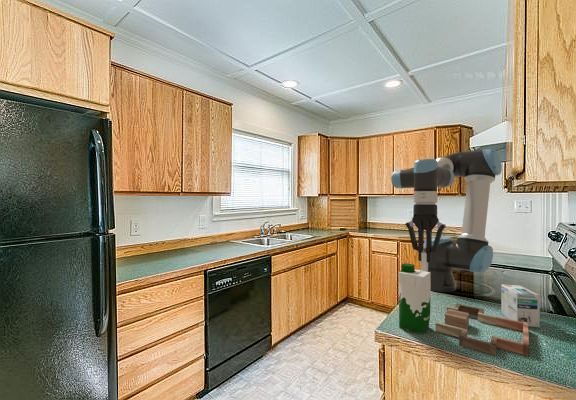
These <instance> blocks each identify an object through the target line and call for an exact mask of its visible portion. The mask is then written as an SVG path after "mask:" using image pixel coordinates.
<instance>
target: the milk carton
mask: <svg viewBox="0 0 576 400" xmlns="http://www.w3.org/2000/svg"><path fill="white" fill-rule="evenodd" d="M400 265H401V266H400V267H401V268H400V269H401V270H399V272H398V274H397V275H398V276H397V277H398V327H399V329H403V330H406V331H409V332H414V333H416V334H417V333H418V334H420V335H423V334H425V332H426V330H427V329H428V328H429V327H430V319H431V295H432V294H431V291H432V290H431V282H430V273H431V272H426V271H422V270H421V269H415V264H412V263H401V264H400Z"/></svg>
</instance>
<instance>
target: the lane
mask: <svg viewBox="0 0 576 400" xmlns="http://www.w3.org/2000/svg"><path fill="white" fill-rule="evenodd" d="M454 307H455V306H454ZM454 307H453V306H449V305H447V306H446V312H447V310H448V309H452V310H456V311H458V308H454ZM446 312H445V313H446ZM477 322H480V323H485V324H489V325H493V326H498V327H503V328H507V329H512V330H514V331H519V332H522V342H520V341H514V340H511V339H507V338H504V337H503V338H502V337H499V336H496V335H495V336H494V335H491V338H496V339H497V349H501V350H505V351H509V352H512V353H516V354H520V355H525V356H527V357H528V356H529V357H530V341H529V340H530V338H529V326H528V323H524V322H520V321H515V320H510V319H508V318H507V317H500V316H497V315H491V314H490V315H489V314H486V313H484V314H482V313H478V320H477ZM434 330H435V332H436V333H441V334H445V335H449V336H453V337H456V338H459V336H460V334H461V332H462V330H464V331H467V336H468V330H469V329H468V328H467V329H463V328H459V327H455V326H451V325H447V324H445V323H442V322H439V321H436V322H435V329H434Z"/></svg>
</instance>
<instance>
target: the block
mask: <svg viewBox="0 0 576 400" xmlns="http://www.w3.org/2000/svg"><path fill="white" fill-rule="evenodd" d="M446 311H447V312H445V314H444V324H447V325H451V326H455V327H459V328H463V329H467V330H468V328H469V325H470V324H469V323H470V318H469V313H465V312H461V311H456V310H452V309H448V310H447V309H446Z"/></svg>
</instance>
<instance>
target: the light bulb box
mask: <svg viewBox="0 0 576 400" xmlns="http://www.w3.org/2000/svg"><path fill="white" fill-rule="evenodd" d="M500 295H501V301H500V303H501V305H500V306H501V310H500V313H501V314H502V315H503V316H504V315H505V316H504V317H505V318H506V319H510V320H515V321H520V322H524V323H528V327H530V328H531V327H533V328H540V325H541V324H540V322H541V321H540V320H541V319H540V314H541V313H540V310H541V308H540V305H541V303H540V302H541V301H540V298H541V297H540V294H538V293H536V292H534V291H532V290H530V289H528V288H527V287H524V286H523V285H515V284H514V285H513V284H505V283H504V284H503V283H502V284H501V293H500Z"/></svg>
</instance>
